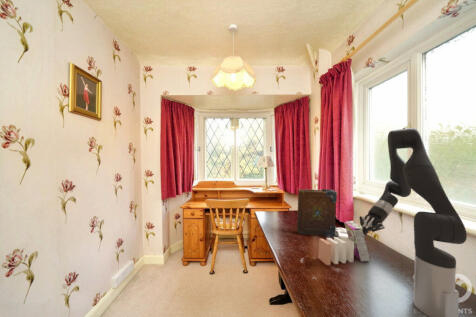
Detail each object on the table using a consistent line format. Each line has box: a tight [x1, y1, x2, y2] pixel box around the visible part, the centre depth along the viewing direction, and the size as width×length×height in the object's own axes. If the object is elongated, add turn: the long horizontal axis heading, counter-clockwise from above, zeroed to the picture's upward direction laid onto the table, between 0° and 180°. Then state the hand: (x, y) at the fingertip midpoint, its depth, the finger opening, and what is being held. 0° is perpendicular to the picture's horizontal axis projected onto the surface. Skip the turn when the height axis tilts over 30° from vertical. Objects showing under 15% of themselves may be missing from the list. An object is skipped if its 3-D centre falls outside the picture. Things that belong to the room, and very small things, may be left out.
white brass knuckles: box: [335, 227, 348, 239], centre depth 118 cm, size 3×18×15 cm
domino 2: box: [325, 237, 339, 265], centre depth 88 cm, size 6×2×10 cm, turn 14°
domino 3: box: [340, 237, 355, 263], centre depth 90 cm, size 6×2×10 cm, turn 14°
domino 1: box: [318, 238, 332, 266], centre depth 87 cm, size 6×2×10 cm, turn 14°
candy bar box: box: [343, 220, 372, 263], centre depth 93 cm, size 11×5×16 cm, turn 168°
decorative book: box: [296, 188, 338, 238], centre depth 119 cm, size 23×7×30 cm, turn 86°
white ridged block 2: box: [333, 236, 347, 264], centre depth 89 cm, size 6×2×10 cm, turn 14°
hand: (361, 234), depth 92 cm, fingers closed
